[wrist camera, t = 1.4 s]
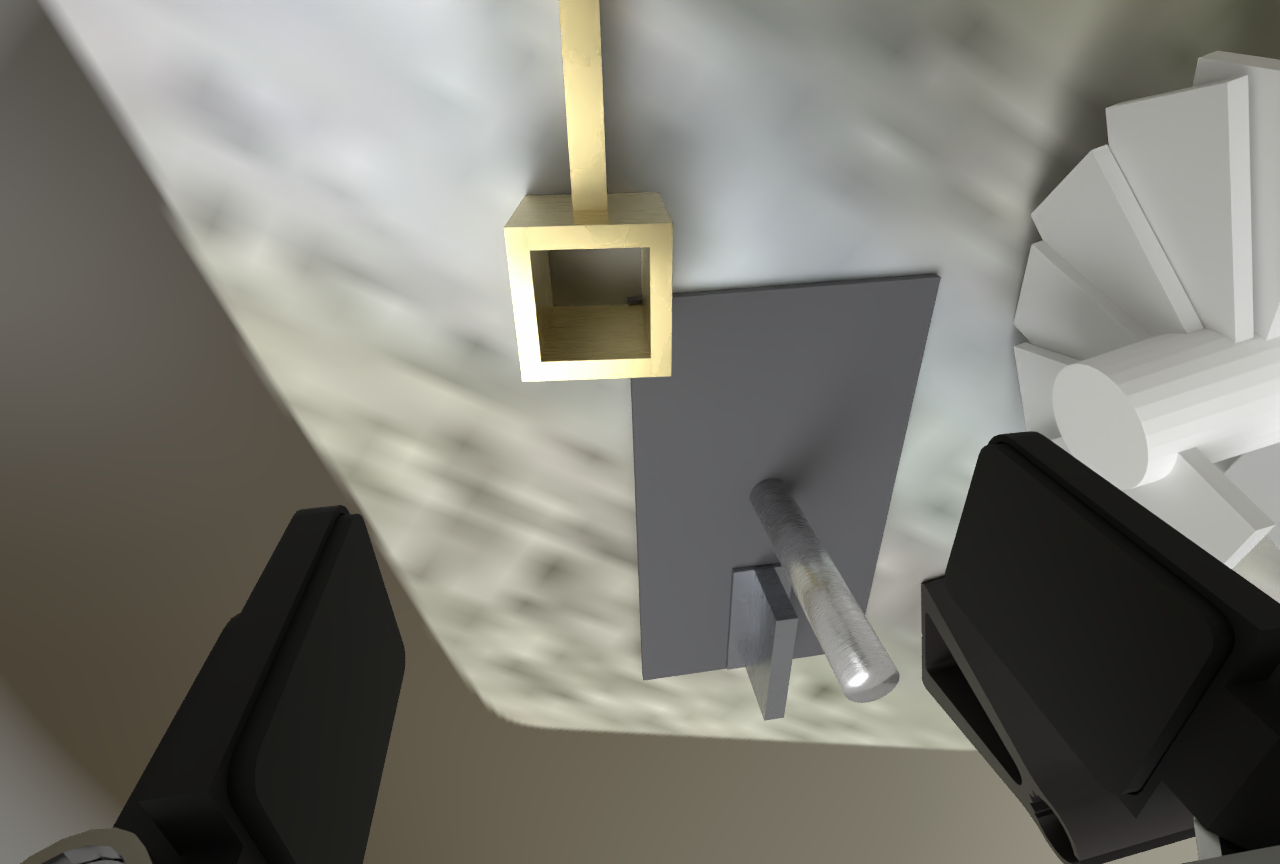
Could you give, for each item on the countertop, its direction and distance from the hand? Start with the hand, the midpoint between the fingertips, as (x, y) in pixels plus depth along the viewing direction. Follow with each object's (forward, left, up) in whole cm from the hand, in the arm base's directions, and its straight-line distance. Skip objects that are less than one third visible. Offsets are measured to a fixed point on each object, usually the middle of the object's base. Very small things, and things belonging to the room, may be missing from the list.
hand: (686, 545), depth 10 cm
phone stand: (+22, +20, -15) cm, 33 cm away
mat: (+12, +7, -15) cm, 20 cm away
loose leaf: (-4, 0, -15) cm, 15 cm away
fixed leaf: (+16, +7, -14) cm, 23 cm away
